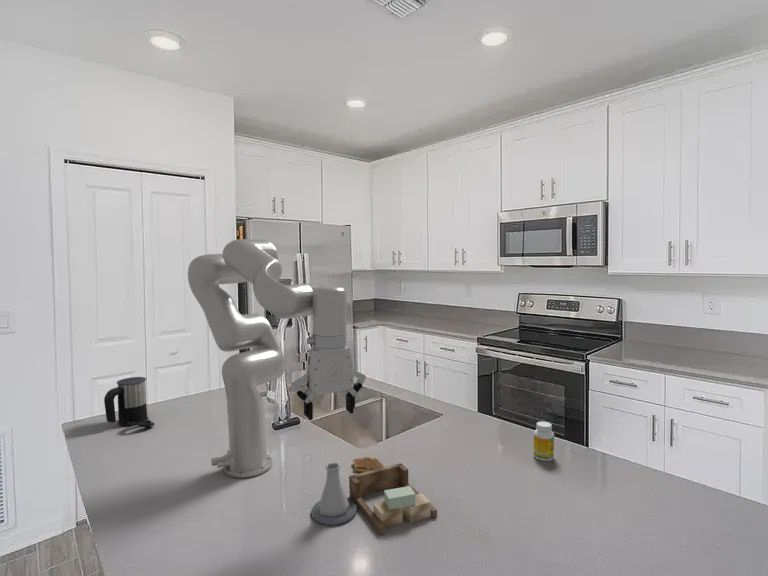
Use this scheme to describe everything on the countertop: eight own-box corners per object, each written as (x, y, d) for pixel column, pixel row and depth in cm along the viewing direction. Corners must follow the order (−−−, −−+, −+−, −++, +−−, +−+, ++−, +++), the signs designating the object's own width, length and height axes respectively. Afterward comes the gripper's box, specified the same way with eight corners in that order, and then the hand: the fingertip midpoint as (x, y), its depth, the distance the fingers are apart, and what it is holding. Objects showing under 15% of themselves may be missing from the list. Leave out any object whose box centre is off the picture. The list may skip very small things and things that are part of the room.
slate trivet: (320, 530, 94) (320, 527, 94) (306, 506, 103) (306, 503, 103) (363, 517, 98) (363, 514, 98) (346, 495, 107) (346, 492, 107)
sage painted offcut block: (389, 509, 96) (388, 498, 95) (384, 501, 99) (384, 490, 99) (415, 505, 97) (415, 494, 97) (410, 496, 101) (409, 486, 100)
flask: (318, 500, 104) (317, 459, 103) (349, 498, 105) (348, 457, 104) (316, 519, 97) (315, 474, 96) (350, 516, 97) (349, 472, 97)
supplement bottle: (534, 451, 130) (535, 419, 129) (554, 454, 127) (555, 422, 127) (532, 459, 125) (532, 425, 124) (553, 463, 123) (553, 428, 122)
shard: (389, 479, 116) (389, 472, 116) (361, 485, 113) (361, 478, 113) (375, 461, 126) (375, 455, 126) (349, 466, 123) (348, 459, 123)
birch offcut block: (410, 523, 96) (410, 507, 96) (402, 513, 100) (401, 498, 100) (430, 517, 99) (430, 501, 98) (421, 507, 102) (421, 493, 102)
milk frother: (131, 416, 162) (128, 375, 161) (171, 417, 160) (169, 377, 159) (101, 431, 148) (98, 388, 147) (144, 434, 146) (142, 389, 145)
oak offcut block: (381, 529, 94) (381, 513, 94) (373, 519, 98) (373, 504, 98) (402, 522, 97) (402, 507, 96) (393, 513, 100) (393, 498, 100)
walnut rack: (379, 534, 92) (379, 511, 92) (349, 496, 107) (349, 475, 107) (437, 516, 99) (437, 494, 98) (401, 482, 113) (400, 463, 113)
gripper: (295, 348, 94) (296, 427, 96) (371, 341, 101) (371, 414, 103) (287, 341, 101) (288, 414, 102) (359, 335, 108) (358, 404, 110)
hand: (329, 414), depth 103 cm, fingers open, 9 cm apart
